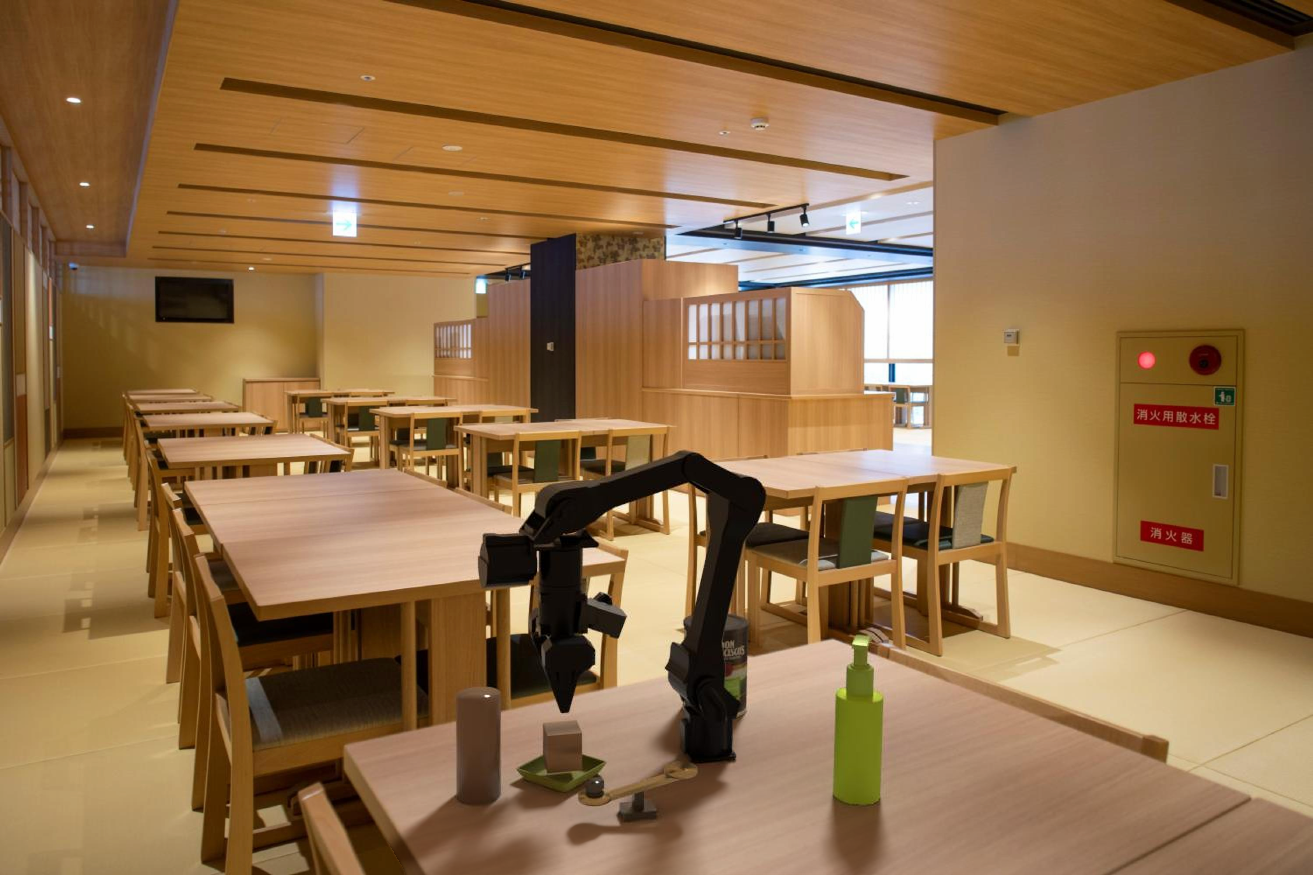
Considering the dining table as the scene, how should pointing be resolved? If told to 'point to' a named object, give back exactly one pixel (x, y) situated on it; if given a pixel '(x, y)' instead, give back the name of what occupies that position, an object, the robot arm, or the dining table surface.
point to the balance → (635, 792)
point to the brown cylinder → (478, 745)
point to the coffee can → (733, 657)
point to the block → (562, 746)
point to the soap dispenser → (858, 732)
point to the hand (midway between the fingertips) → (559, 699)
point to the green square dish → (561, 780)
